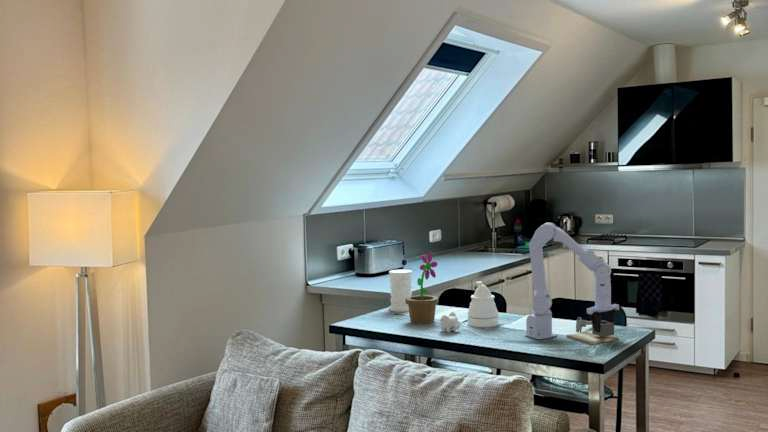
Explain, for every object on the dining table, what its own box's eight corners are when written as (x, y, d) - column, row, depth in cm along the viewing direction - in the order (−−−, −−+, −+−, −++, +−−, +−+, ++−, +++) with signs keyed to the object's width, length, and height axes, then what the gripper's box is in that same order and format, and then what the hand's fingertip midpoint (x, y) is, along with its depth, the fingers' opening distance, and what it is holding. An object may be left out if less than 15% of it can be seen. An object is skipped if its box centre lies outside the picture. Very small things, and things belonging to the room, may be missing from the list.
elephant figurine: (456, 334, 293) (456, 316, 293) (435, 332, 299) (435, 314, 298) (465, 330, 300) (465, 313, 299) (444, 328, 305) (444, 311, 305)
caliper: (578, 334, 290) (578, 317, 290) (576, 333, 291) (575, 317, 290) (600, 324, 306) (600, 309, 306) (597, 323, 307) (597, 308, 306)
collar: (603, 336, 275) (603, 324, 275) (592, 333, 280) (592, 322, 280) (614, 334, 278) (614, 322, 278) (603, 331, 283) (603, 320, 282)
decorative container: (395, 312, 339) (394, 273, 337) (385, 308, 349) (384, 270, 348) (418, 310, 343) (417, 271, 342) (407, 305, 354) (406, 268, 353)
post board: (590, 344, 272) (590, 331, 272) (566, 337, 284) (566, 324, 283) (618, 339, 279) (618, 326, 278) (594, 332, 290) (593, 320, 290)
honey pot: (484, 328, 303) (483, 285, 301) (461, 323, 312) (460, 281, 311) (504, 323, 311) (504, 281, 310) (481, 319, 321) (480, 278, 319)
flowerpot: (445, 321, 317) (444, 252, 315) (419, 326, 309) (417, 255, 307) (425, 316, 329) (423, 249, 326) (399, 321, 320) (397, 252, 318)
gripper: (596, 298, 271) (596, 335, 272) (625, 294, 278) (625, 330, 279) (582, 295, 277) (582, 331, 278) (611, 291, 284) (611, 326, 285)
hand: (603, 330), depth 279 cm, fingers closed on collar, 5 cm apart
